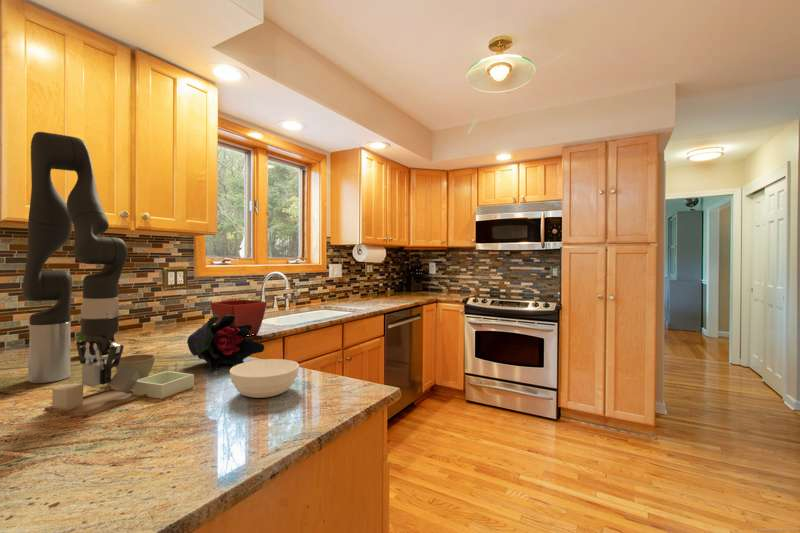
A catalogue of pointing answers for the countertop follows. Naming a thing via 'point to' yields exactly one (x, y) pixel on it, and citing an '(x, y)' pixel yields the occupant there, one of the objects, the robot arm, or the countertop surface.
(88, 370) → the stone slate
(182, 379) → the green bin
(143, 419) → the countertop surface
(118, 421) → the countertop surface
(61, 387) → the stone sand
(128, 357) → the flower pot
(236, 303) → the plant pot
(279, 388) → the bowl
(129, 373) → the stone basalt
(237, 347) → the decorative plant
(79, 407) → the walnut tray
